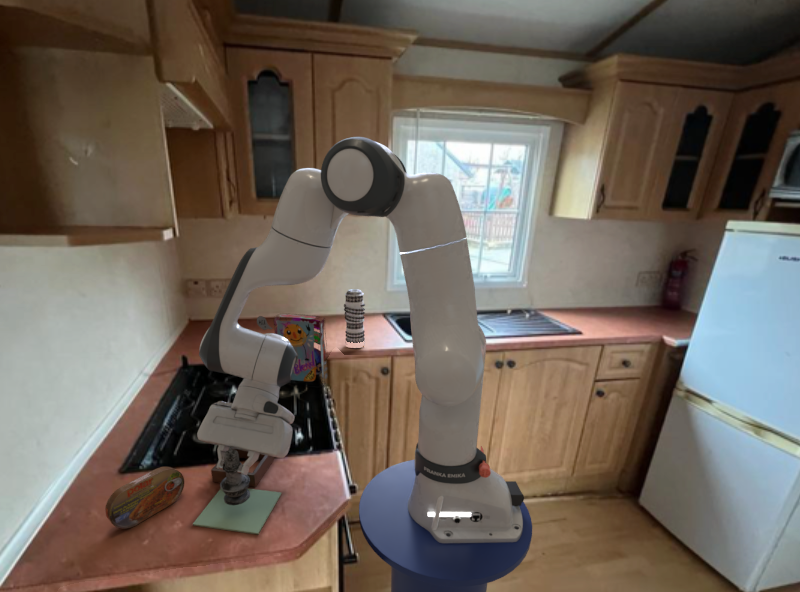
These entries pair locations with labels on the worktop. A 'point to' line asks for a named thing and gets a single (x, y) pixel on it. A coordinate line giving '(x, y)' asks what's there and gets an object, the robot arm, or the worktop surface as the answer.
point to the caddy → (254, 477)
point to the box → (302, 344)
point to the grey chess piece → (234, 480)
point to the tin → (144, 497)
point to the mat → (239, 512)
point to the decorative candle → (354, 316)
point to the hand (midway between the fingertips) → (231, 471)
